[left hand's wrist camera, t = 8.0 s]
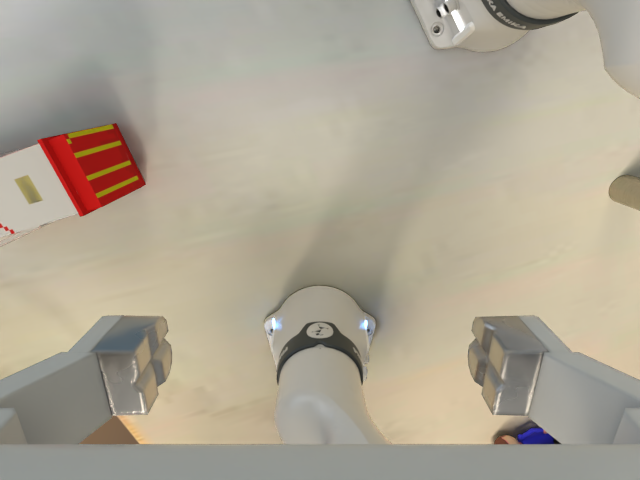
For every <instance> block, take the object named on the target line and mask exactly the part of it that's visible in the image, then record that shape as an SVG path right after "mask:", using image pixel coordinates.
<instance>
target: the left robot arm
mask: <svg viewBox="0 0 640 480" xmlns="http://www.w3.org/2000/svg"><path fill="white" fill-rule="evenodd" d="M264 328H265V331H266V334H267V338H268V341H269V345H270V348H271V352H272V355H273V358H274V362H275V365H276V369H277V383H278V392H277V399H276V407H275V414H274V421H275V427H276V430H277V433H278V435H279V437H280V438H281V440H282V442H283V443H284V444H79V443H80V442H82V441H83V440H84V439H85V438H87V437H88V436H89V435H90V434H92V433H93V432H94V431H95V430H97V429H98V428H99V427H101V426H102V425H103V424H104V423H106V422H107V421H108V420H109V419H111V418H112V416H117V415H148V413H149V411H150V409H151V407H152V405H153V404H154V402H155V400H156V398H157V396H158V389H157V387H158V386H159V385H161V384H162V383H164V382H165V381H166V379H167V377H168V375H169V373H170V369H171V364H172V350H171V345H170V344H169V343H168V342H167V341H166V340H165V339H164V337H165V336H166V334H167V332H168V326H167V321H166V319H165V318H164V317H163V316H124V315H115V316H103V317H101V318H100V320H99V321H98V322H97V323H96V324H95V325H94V326H93V327H92V328H91V329H90V330H89V331H88V332H87V333H86V334H85V335H84V336H83V337H82V338H81V339H80V340H79V341H78V342H77V343H76V344H75V345H74V346H73V347H72V348H71V349H70V350H69V351H68V352H61V353H59V354H56V355H54V356H52V357H50V358H48V359H45V360H43V361H41V362H39V363H37V364H35V365H32V366H30V367H28V368H26V369H24V370H21V371H19V372H17V373H15V374H13V375H10V376H8V377H6V378H4V379H2V380H0V480H640V380H638V379H636V378H634V377H632V376H629V375H627V374H625V373H623V372H621V371H619V370H616V369H614V368H612V367H610V366H608V365H605V364H603V363H601V362H599V361H597V360H594V359H592V358H590V357H588V356H586V355H584V354H581V353H579V352H572V351H571V350H570V349H569V348H568V347H567V346H566V345H565V344H564V343H563V342H562V341H561V340H560V339H559V338H558V337H557V336H556V335H555V334H554V333H553V332H552V331H551V330H550V329H549V328H548V327H547V326H546V325H545V324H544V322H543V321H542V320H541V319H540V318H539V317H537V316H534V315H525V316H495V317H475V319H474V321H473V325H472V332H473V334H474V336H475V337H476V339H475V340H474V341H473V342H472V343H471V344H470V345H469V350H468V364H469V369H470V372H471V375H472V377H473V379H474V381H475V382H476V383H478V384H479V385H481V386H482V387H483V389H482V396H483V398H484V400H485V402H486V403H487V405H488V407H489V409H490V411H491V413H492V415H523V416H528V418H530V419H531V420H532V421H533V422H535V423H536V424H537V425H538V426H540V427H541V428H542V429H543V430H545V431H546V432H547V433H548V434H550V435H551V436H552V437H553V438H555V439H556V440H557V441H558V442H560V443H561V444H392V443H391V442H390V441H389V440H388V439H387V438H386V437H385V436H384V435H383V434H382V433H381V432H380V431H379V429H378V428H377V427H376V426H375V424H374V423H373V421H372V420H371V418H370V416H369V414H368V411H367V407H366V404H365V400H364V395H363V390H362V384H363V381H366V379H367V367H366V366H364V365H365V363H367V364H368V362H369V355H368V352H369V348H370V345H371V341H372V338H373V334H374V331H375V328H376V321H375V319H374V318H373V317H372V316H370V315H369V314H367V313H365V312H363V311H362V310H361V309H360V307H359V306H358V305H357V303H356V302H355V301H354V300H353V299H352V298H351V297H350V296H349V295H348V294H346V293H345V292H343V291H341V290H339V289H336V288H333V287H329V286H311V287H307V288H304V289H301V290H299V291H297V292H295V293H294V294H292V295H291V296H290V297H289V298H288V299H287V300H286V301H285V302H284V303H283V305H282V306H281V307H280V309H279V310H278V311H277V312H275V313H273V314H271V315H270V316H268V317H267V318H266V319H265V321H264ZM271 329H273V331H272V330H271ZM367 329H369V330H368V331H367Z"/></svg>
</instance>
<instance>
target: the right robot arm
mask: <svg viewBox="0 0 640 480" xmlns="http://www.w3.org/2000/svg"><path fill="white" fill-rule="evenodd" d="M410 1H411V4H412V6H413V8H414V10H415V12H416V14H417V17H418V19H419V21H420V23H421V25H422V27H423V30H424V32H425V34H426V36H427V38H428V40H429V43H430V45H431V46H432V47H433V48H435V49H438V50H442V49H449V48H454V47H459V48H464V49H467V50H471V51H476V52H491V51H496V50H500V49H503V48H505V47H507V46H510V45H511V44H513V43H515V42H516V41H518V40H519V39H520V38H522V37H523V36H524V35H525V34H526V33H527V32H528V31H529V30H533V29H538V28H542V27H545V26H548V25H553V24H556V23H559V22H561V21H563V20H565V19H568V18H570V17H571V16H573V15H575V14H577V13H578V12H580V11H585V10H587V11H588V13H589V14H590V16H591V17H592V19H593V21H594V23H595V25H596V28H597V30H598V34H599V37H600V42H601V47H602V53H603V62H604V68H605V70H606V72H607V73H608V74H609V76H610V77H611V78H612V79H613V80H614V81H615V82H616V83H617V84H618V85H619V86H620V87H622V88H623V89H624V90H626V91H627V92H628V93H630V94H632V95H634V96H635V97H637V98H639V99H640V0H410ZM435 26H436V27H438V28H439V31H438V33H435V32H434V30H433V29H434V27H435Z"/></svg>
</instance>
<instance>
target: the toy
mask: <svg viewBox="0 0 640 480" xmlns="http://www.w3.org/2000/svg"><path fill="white" fill-rule="evenodd" d="M37 141H38V143H39V144H36V145H33V146H31V147H28V148H25V149H22V150H20V149H19V150H15V151H11V152H7V153H3V154H0V237H3V236H7V235H10V234H13V233H17V232H19V233H17V234H15V235H13V236H10V237H8V238H6V239H4V240H2V241H0V247H1V246H3V245H6V244H8V243H10V242H12V241H14V240H16V239H18V238H20V237H23V236H25V235H27V234H29V233H31V232H33V231H35V230H37V229H40V228H42V227H44V226H46V225H48V224H50V223H52V222H54V221H57V220H60V219H63V218H67V217H70V216H73V215H76V214H79V215H80V217H81V216H84V215H86V214H88V213H90V212H92V211H94V210H96V209H98V208H100V207H103V206H105V205H107V204H109V203H111V202H113V201H115V200H117V199H119V198H121V197H123V196H125V195H127V194H129V193H131V192H133V191H135V190H137V189H139V188H141V187H142V186H144V185H146V184H145V182H144V180H143V178H142V175H141V173H140V171H139V169H138V167H137V165H136V163H135V161H134V159H133V157H132V155H131V153H130V151H129V149H128V147H127V144H126V142H125V140H124V138H123V136H122V134H121V132H120V130H119V128H118V126H117V124H116V123H115V124H110V125H105V126H101V127H96V128H91V129H86V130H81V131H77V132H72V133H67V134H62V135H57V136H53V137H48V138H43V139H39V140H37ZM20 231H21V232H20Z"/></svg>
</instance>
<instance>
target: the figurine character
mask: <svg viewBox="0 0 640 480" xmlns="http://www.w3.org/2000/svg"><path fill="white" fill-rule="evenodd" d="M517 440H518V441H517ZM517 440H516V439H515V438H513V437H511V436H508V435H502V436H499V437H498V438H497V439H496V440H495V443H494V444H561V443H560V442H558V441H557V440H556V439H555V438H553V437H552V436H551V435H550V434H548V433H547V432H546V431H545V430H543V429H542V428H530V429H529V430H528V431H526V432H525V433H523V434H519V435H518V438H517Z"/></svg>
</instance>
